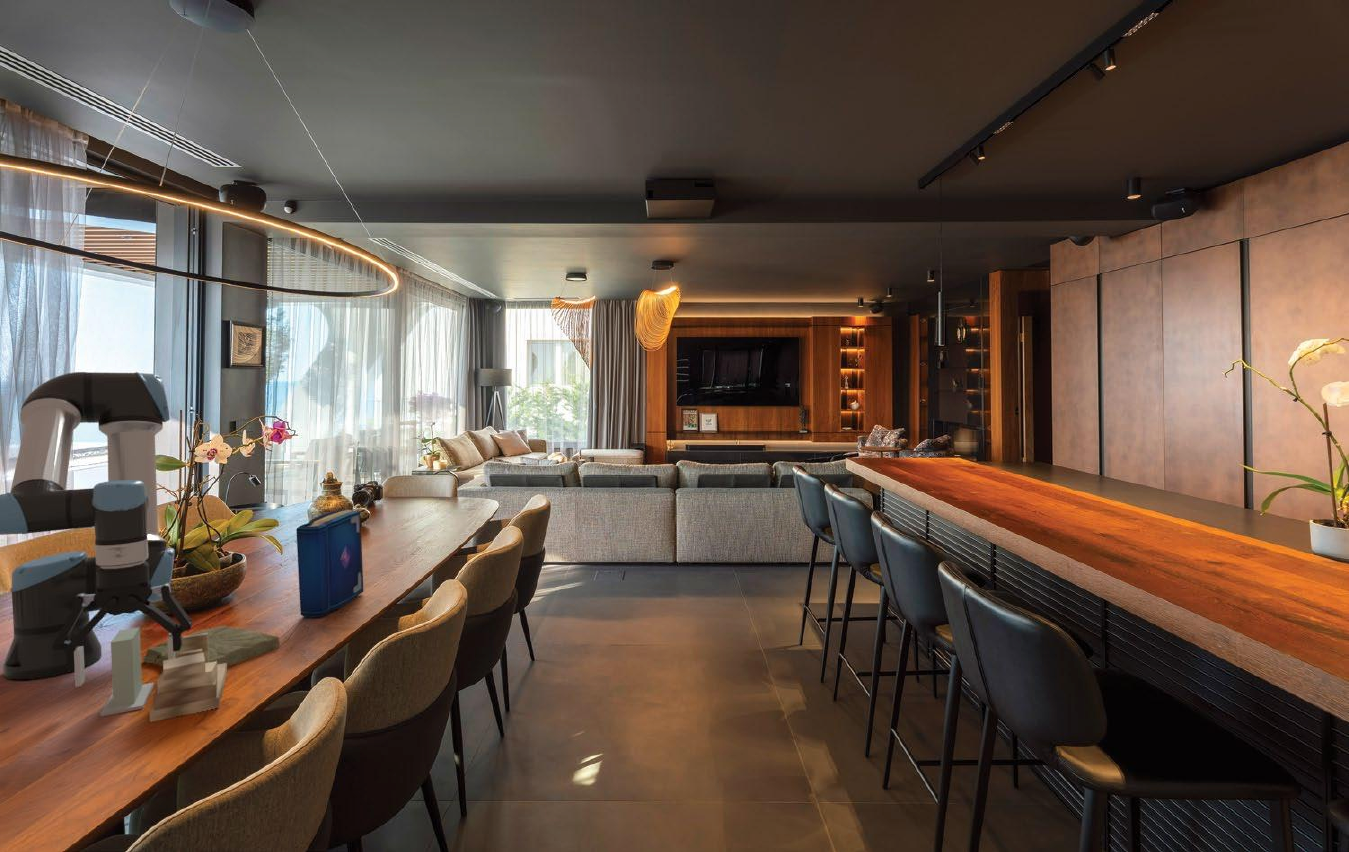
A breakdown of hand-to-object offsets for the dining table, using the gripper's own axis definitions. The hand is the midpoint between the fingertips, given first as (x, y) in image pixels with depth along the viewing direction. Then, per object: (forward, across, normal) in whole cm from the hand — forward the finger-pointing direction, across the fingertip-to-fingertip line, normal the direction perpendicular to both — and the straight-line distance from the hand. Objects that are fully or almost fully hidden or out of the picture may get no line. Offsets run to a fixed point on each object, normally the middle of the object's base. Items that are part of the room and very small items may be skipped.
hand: (127, 675), depth 123 cm
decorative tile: (+5, +11, +18) cm, 22 cm away
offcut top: (-2, +10, -10) cm, 14 cm away
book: (+5, +36, +42) cm, 56 cm away
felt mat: (+5, 0, 0) cm, 5 cm away
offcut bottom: (+3, +10, -10) cm, 14 cm away
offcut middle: (0, +10, -9) cm, 14 cm away
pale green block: (+4, 0, 0) cm, 4 cm away
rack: (+5, +10, -4) cm, 12 cm away
